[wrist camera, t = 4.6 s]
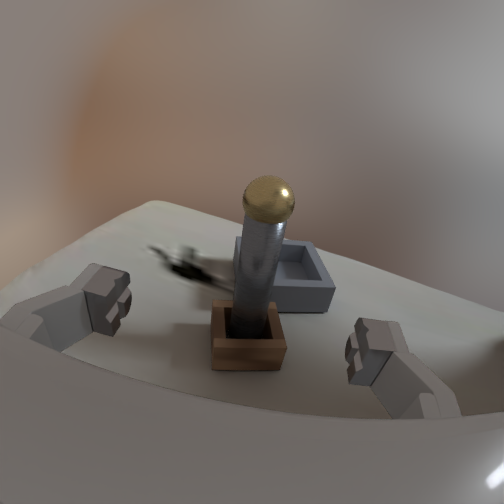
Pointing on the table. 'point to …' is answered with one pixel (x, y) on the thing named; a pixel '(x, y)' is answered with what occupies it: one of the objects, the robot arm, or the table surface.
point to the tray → (298, 278)
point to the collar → (246, 342)
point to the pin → (259, 253)
